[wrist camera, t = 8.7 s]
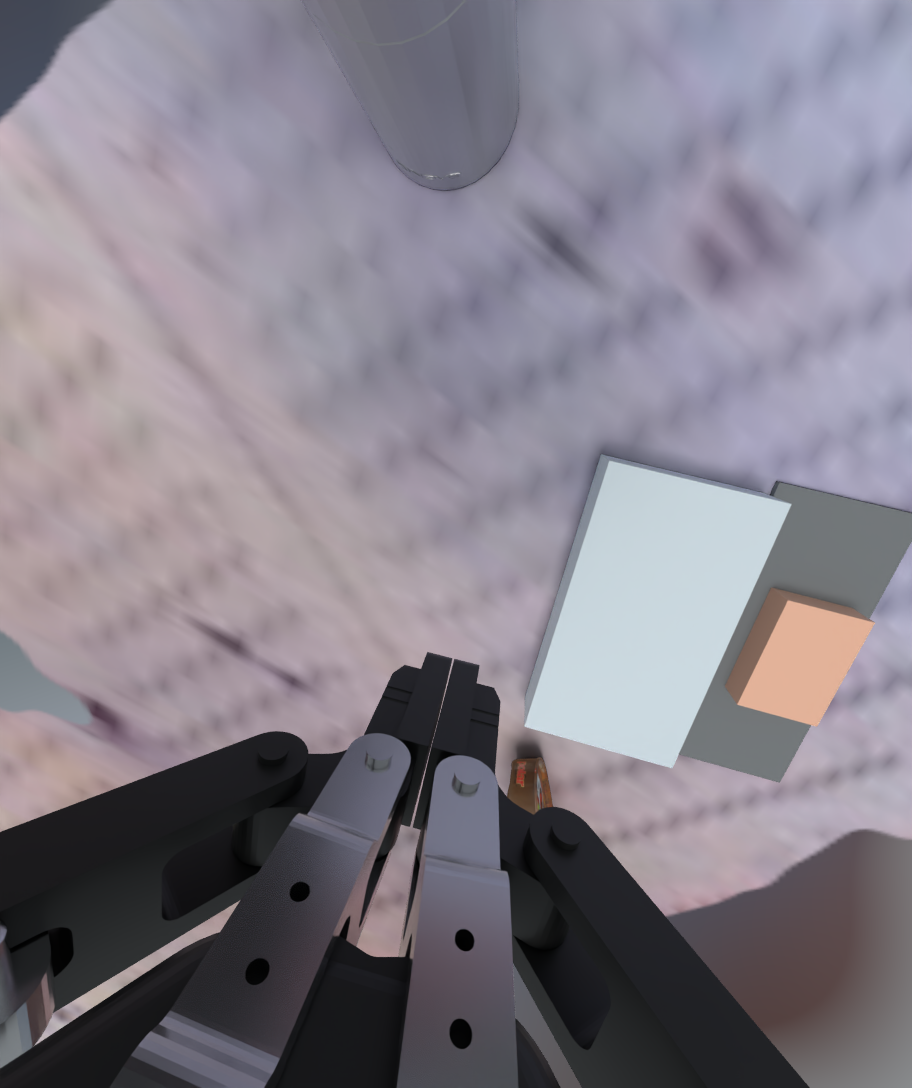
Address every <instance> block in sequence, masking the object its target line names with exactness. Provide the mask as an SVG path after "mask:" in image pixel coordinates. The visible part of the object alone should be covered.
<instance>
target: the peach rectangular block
mask: <svg viewBox="0 0 912 1088" xmlns="http://www.w3.org/2000/svg"><path fill="white" fill-rule="evenodd" d="M874 624H875V622H873V621H872V620H870V619H868V618H867V617H865V616H864V615H862V614H861V613H859V612H858V611H856V610H855V609H853V608H850V607H846V606H842V605H838V604H834V603H831V602H827V601H823V600H819V599H815V598H811V597H807V596H803V595H799V594H795V593H792V592H788V591H784V590H780V589H776V588H772V587H771V589H770V591H769V593H768V595H767V598H766V600H765V602H764V604H763V606H762V608H761V610H760V612H759V615H758V617H757V619H756V621H755V623H754V625H753V627H752V629H751V632H750V634H749V636H748V638H747V640H746V642H745V644H744V646H743V649H742V651H741V653H740V655H739V657H738V659H737V661H736V663H735V666H734V668H733V670H732V672H731V674H730V676H729V678H728V680H727V683H726V685H725V687H726V689H727V690H728V692H729V693H730V695H731V696H732V698H733V699H734V701H735V702H736V704H737V705H740V706H744V707H747V708H751V709H755V710H758V711H762V712H766V713H769V714H773V715H777V716H780V717H784V718H787V719H791V720H795V721H798V722H802V723H806V724H809V725H813V726H818V724H819V722H820V720H821V718H822V717H823V715H824V713H825V711H826V709H827V708H828V706H829V704H830V702H831V701H832V699H833V697H834V695H835V693H836V692H837V690H838V688H839V686H840V684H841V683H842V681H843V679H844V677H845V675H846V674H847V672H848V670H849V668H850V667H851V665H852V663H853V661H854V659H855V658H856V656H857V654H858V652H859V650H860V649H861V647H862V645H863V643H864V642H865V640H866V638H867V636H868V634H869V633H870V631H871V629H872V627H873V625H874Z"/></svg>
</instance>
